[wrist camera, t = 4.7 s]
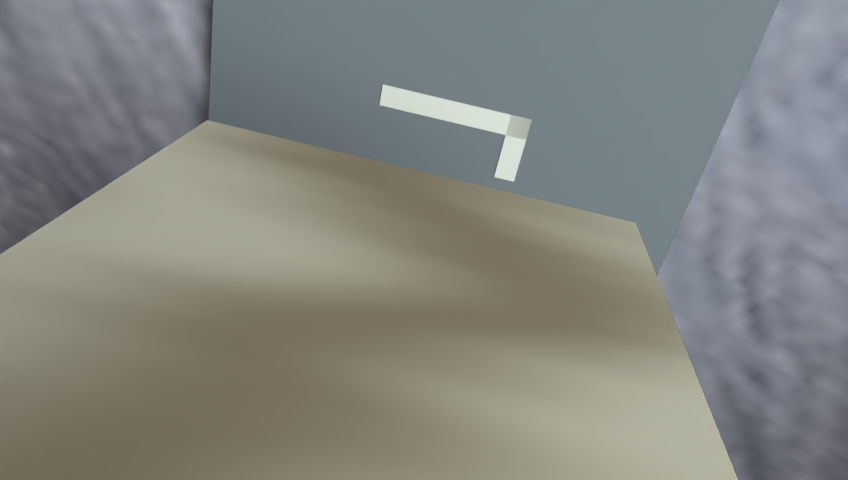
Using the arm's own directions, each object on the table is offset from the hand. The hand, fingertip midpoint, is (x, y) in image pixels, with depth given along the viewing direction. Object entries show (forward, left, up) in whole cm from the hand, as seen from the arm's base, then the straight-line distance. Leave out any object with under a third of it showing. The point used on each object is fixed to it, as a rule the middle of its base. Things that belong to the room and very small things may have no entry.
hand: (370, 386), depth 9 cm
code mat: (0, 0, -8) cm, 8 cm away
